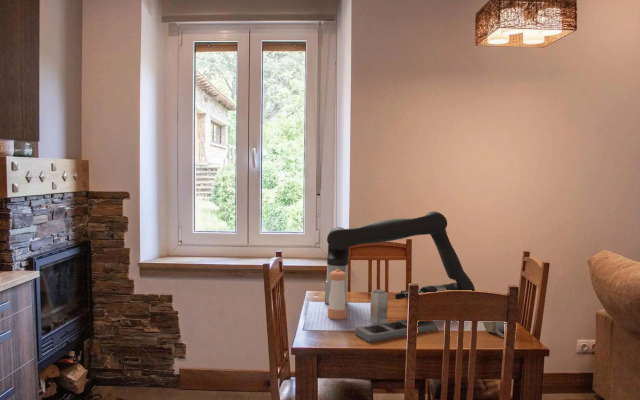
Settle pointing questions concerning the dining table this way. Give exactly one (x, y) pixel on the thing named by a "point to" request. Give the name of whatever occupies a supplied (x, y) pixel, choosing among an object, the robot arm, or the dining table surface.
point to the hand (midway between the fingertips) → (402, 299)
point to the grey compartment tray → (390, 330)
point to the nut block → (378, 307)
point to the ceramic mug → (495, 327)
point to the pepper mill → (337, 295)
